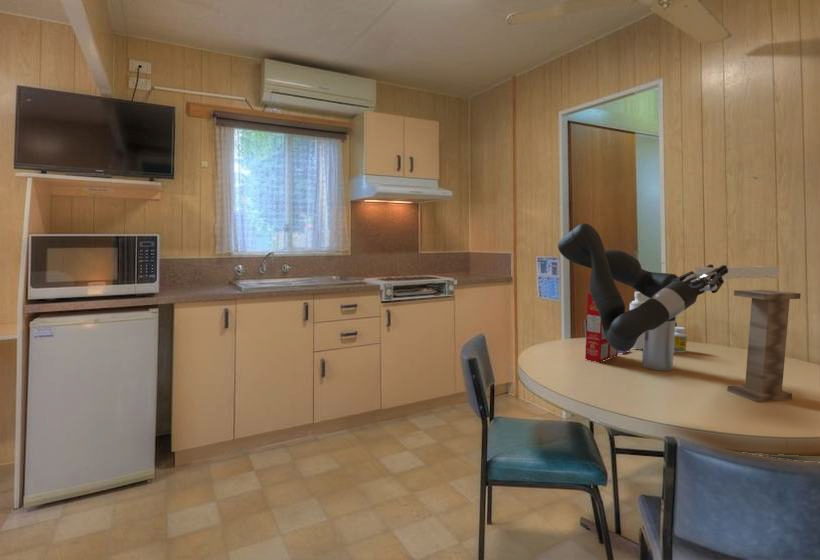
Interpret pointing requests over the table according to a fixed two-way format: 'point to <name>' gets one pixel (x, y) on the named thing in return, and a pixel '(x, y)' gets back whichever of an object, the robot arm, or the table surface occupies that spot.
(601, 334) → the food packaging
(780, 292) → the walnut stand
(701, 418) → the table surface
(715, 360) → the table surface
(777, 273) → the beige long bar
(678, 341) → the supplement bottle
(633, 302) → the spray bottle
